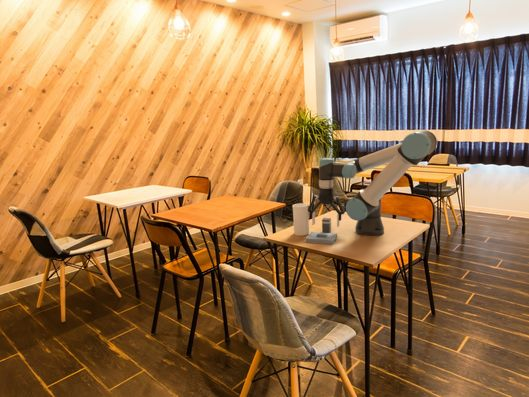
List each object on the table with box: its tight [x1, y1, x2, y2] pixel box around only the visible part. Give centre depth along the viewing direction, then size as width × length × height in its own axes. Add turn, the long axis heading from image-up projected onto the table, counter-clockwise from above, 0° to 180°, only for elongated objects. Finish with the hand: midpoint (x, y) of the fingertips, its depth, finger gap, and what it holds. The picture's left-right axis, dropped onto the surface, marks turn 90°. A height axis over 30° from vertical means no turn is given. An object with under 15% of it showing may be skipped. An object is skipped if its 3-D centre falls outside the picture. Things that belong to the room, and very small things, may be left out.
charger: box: [321, 217, 332, 233], centre depth 214 cm, size 4×4×8 cm
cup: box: [292, 202, 310, 236], centre depth 214 cm, size 8×8×16 cm
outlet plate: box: [305, 231, 338, 245], centre depth 204 cm, size 14×12×2 cm
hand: (325, 225), depth 214 cm, fingers open, 13 cm apart
